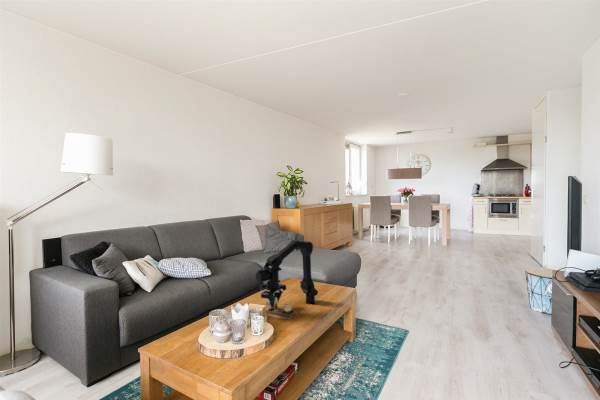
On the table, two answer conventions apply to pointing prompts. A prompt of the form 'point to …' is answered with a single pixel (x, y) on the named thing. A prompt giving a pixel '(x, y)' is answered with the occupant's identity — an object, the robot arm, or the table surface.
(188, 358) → the table surface
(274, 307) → the cylinder
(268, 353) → the table surface
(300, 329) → the table surface
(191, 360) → the table surface
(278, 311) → the brown compartment tray
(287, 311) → the cylinder
